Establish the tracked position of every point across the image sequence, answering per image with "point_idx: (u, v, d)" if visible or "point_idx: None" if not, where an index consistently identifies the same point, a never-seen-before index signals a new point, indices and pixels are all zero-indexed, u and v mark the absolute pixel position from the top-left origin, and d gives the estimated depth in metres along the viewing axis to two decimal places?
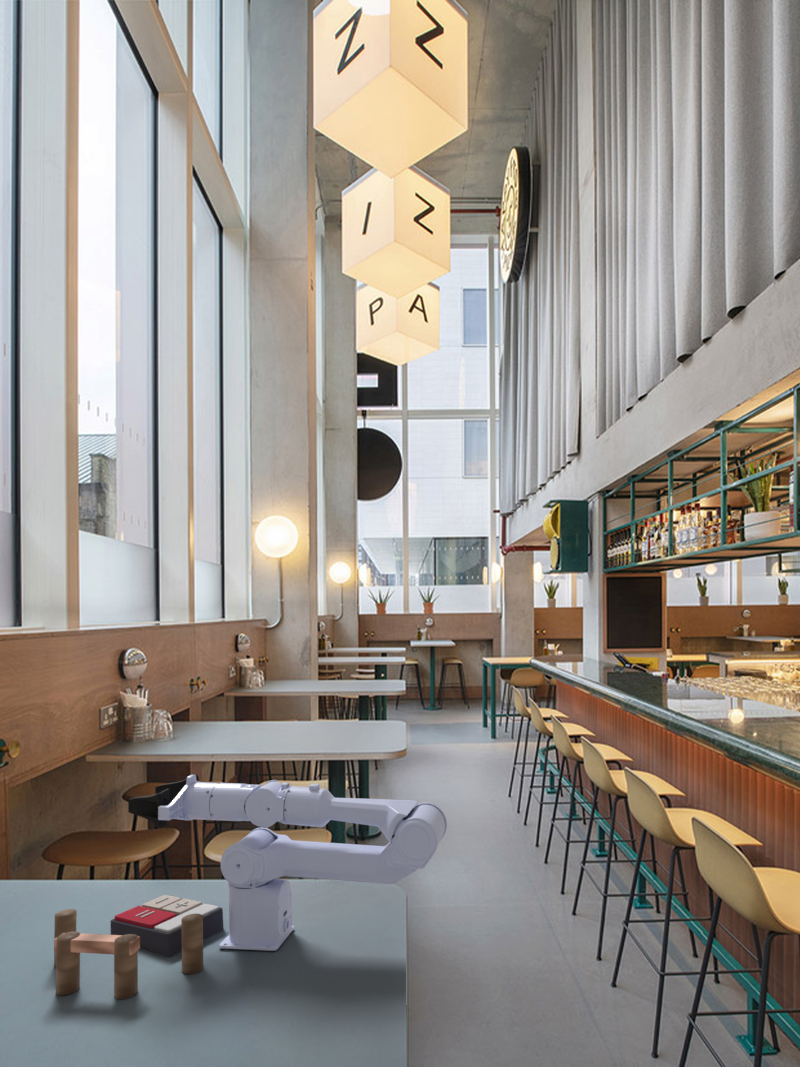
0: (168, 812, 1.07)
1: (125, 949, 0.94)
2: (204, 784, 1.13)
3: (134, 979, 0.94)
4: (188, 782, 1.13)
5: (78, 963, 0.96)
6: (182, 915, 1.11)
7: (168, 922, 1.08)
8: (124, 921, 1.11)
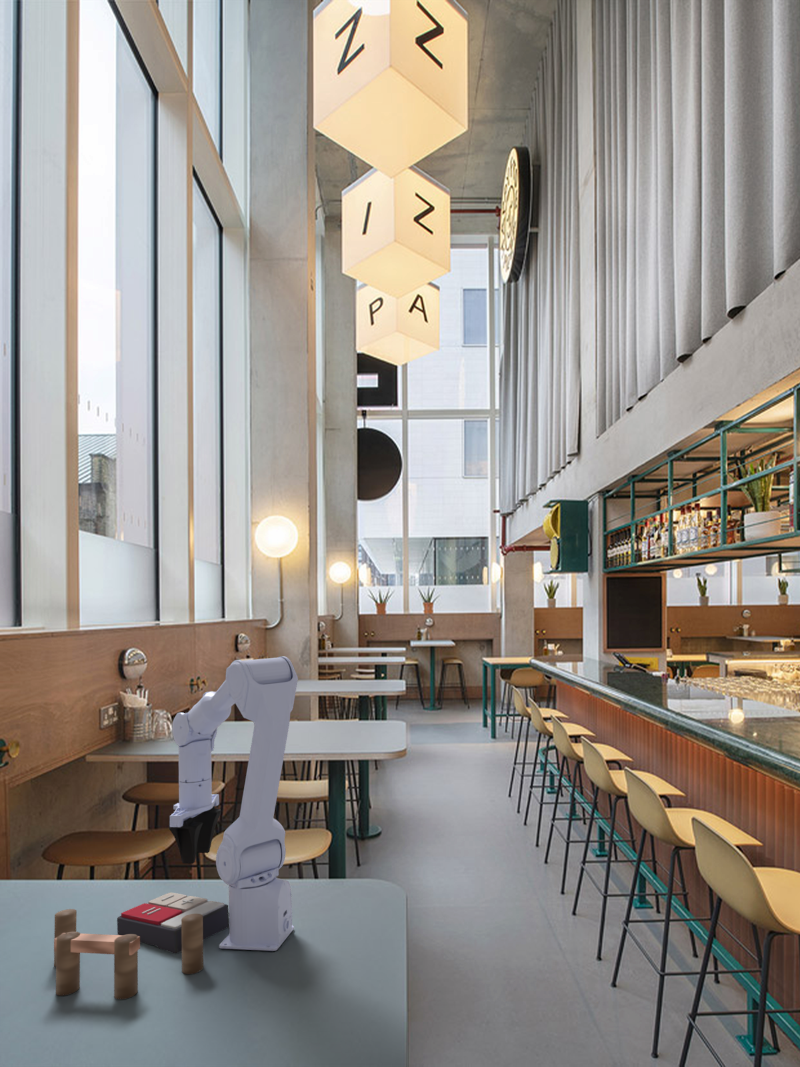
0: (173, 816, 1.18)
1: (125, 949, 0.94)
2: None
3: (134, 979, 0.94)
4: (176, 807, 1.25)
5: (78, 963, 0.96)
6: (188, 912, 1.12)
7: (174, 919, 1.10)
8: (130, 919, 1.12)
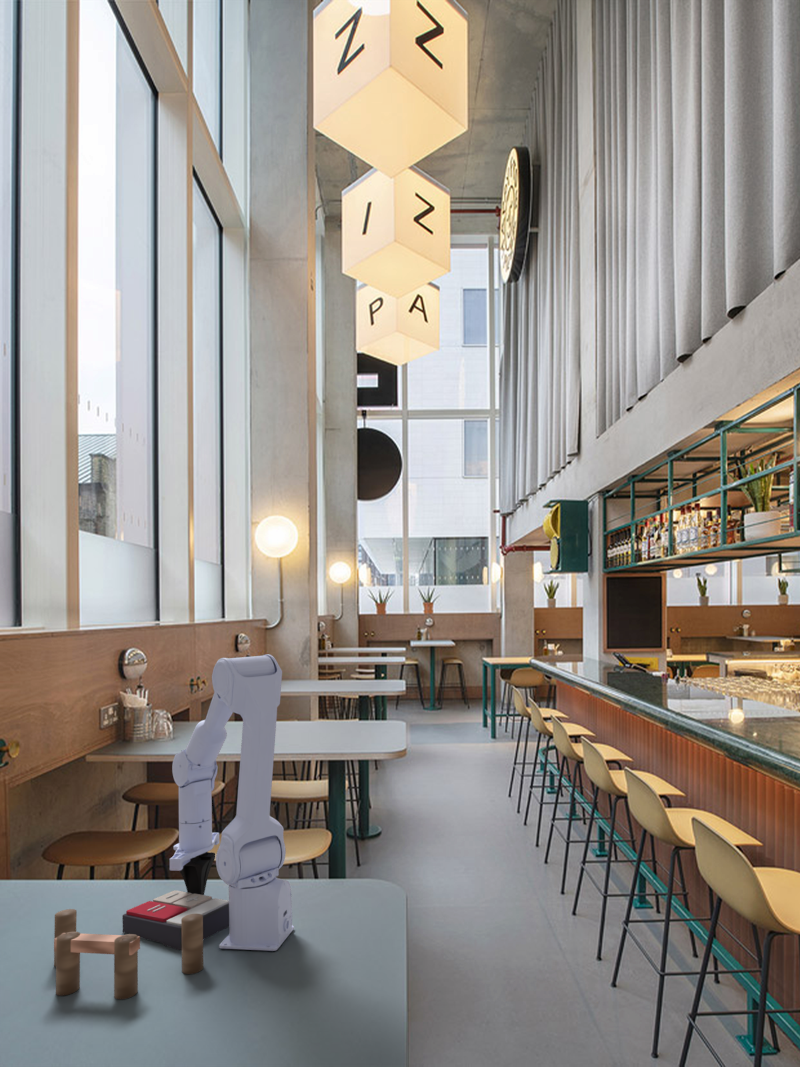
0: (173, 859, 1.17)
1: (125, 949, 0.94)
2: None
3: (134, 979, 0.94)
4: (176, 848, 1.23)
5: (78, 963, 0.96)
6: (193, 909, 1.13)
7: (180, 916, 1.11)
8: (136, 916, 1.13)
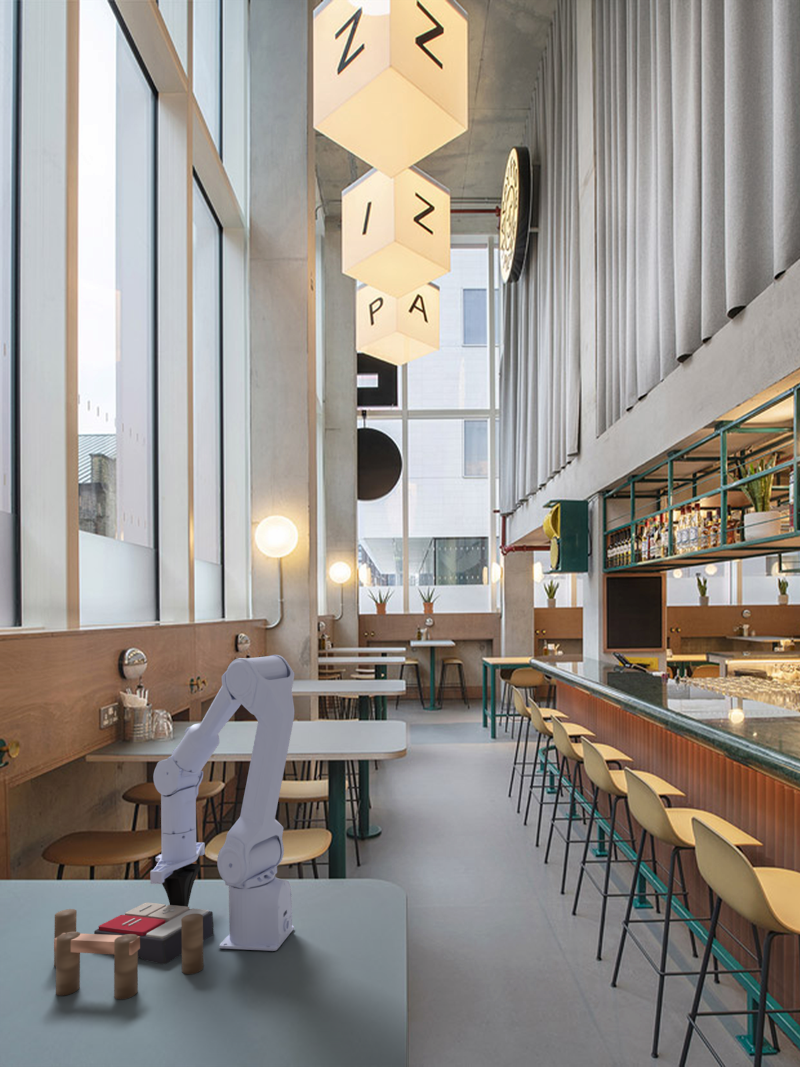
0: (154, 872, 1.11)
1: (125, 949, 0.94)
2: None
3: (134, 979, 0.94)
4: (159, 859, 1.18)
5: (78, 963, 0.96)
6: (172, 921, 1.09)
7: (160, 928, 1.06)
8: (110, 931, 1.08)
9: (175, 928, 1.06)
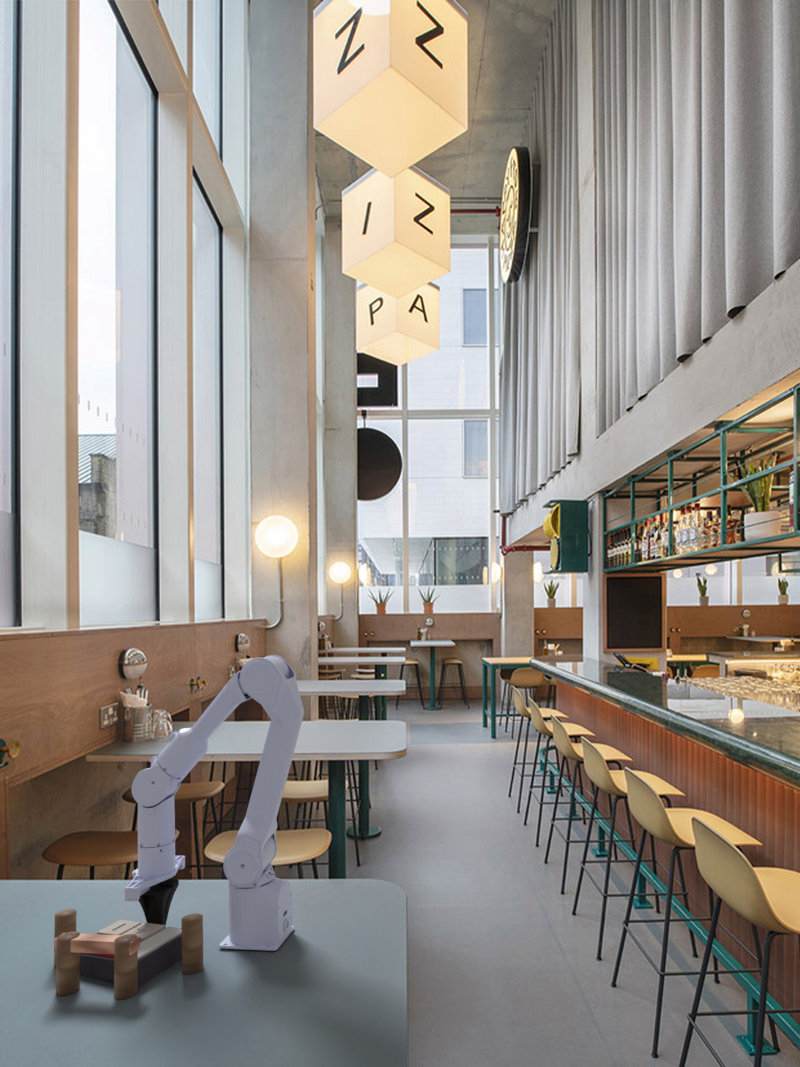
0: (129, 888, 1.04)
1: (125, 949, 0.94)
2: None
3: (134, 979, 0.94)
4: (135, 874, 1.11)
5: (78, 963, 0.96)
6: (147, 941, 1.02)
7: None
8: None
9: (149, 949, 0.99)
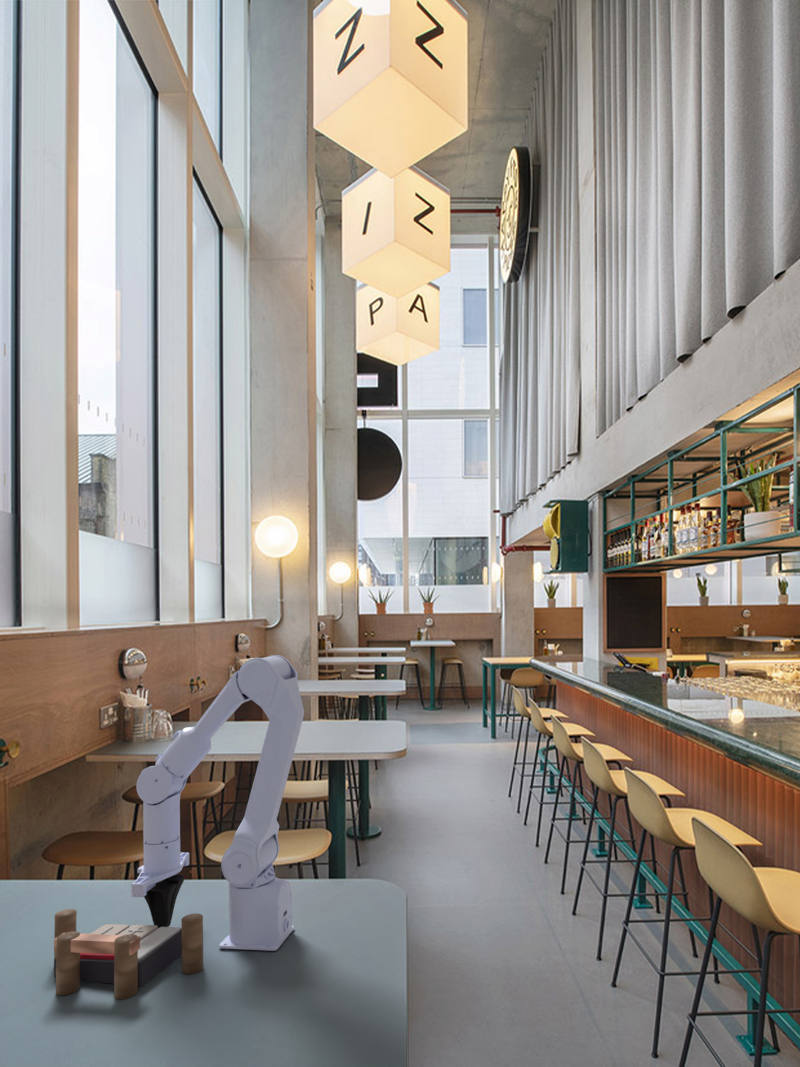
0: (136, 884, 1.06)
1: (125, 949, 0.94)
2: None
3: (134, 979, 0.94)
4: (140, 870, 1.13)
5: (78, 963, 0.96)
6: (143, 941, 1.02)
7: None
8: None
9: (149, 949, 0.99)
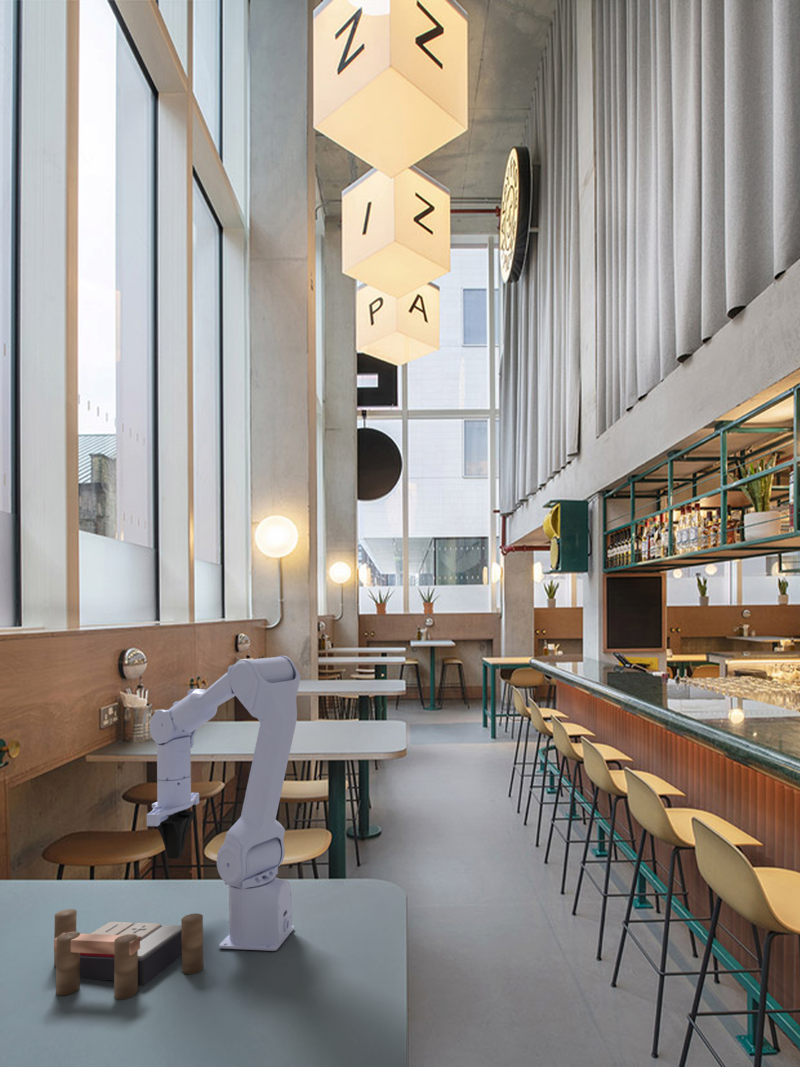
0: (150, 815, 1.16)
1: (125, 949, 0.94)
2: None
3: (134, 979, 0.94)
4: (154, 805, 1.22)
5: (78, 963, 0.96)
6: (147, 939, 1.03)
7: None
8: None
9: (152, 947, 1.00)
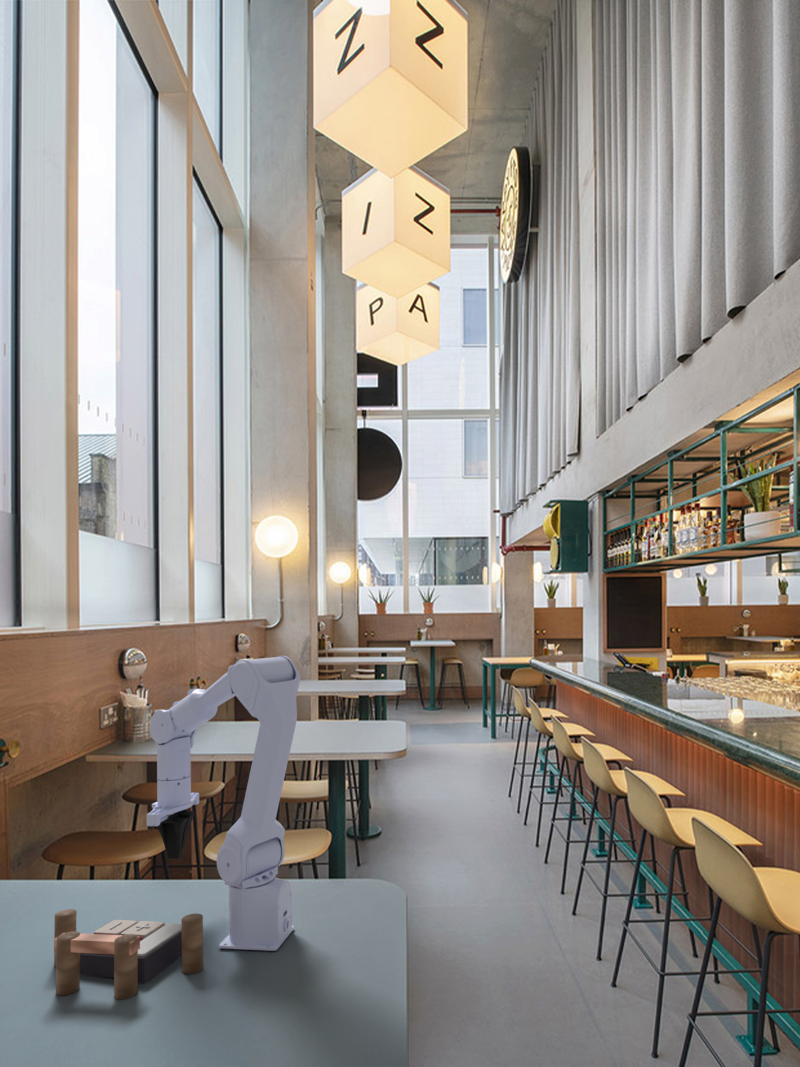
0: (150, 815, 1.16)
1: (125, 949, 0.94)
2: None
3: (134, 979, 0.94)
4: (154, 805, 1.22)
5: (78, 963, 0.96)
6: (149, 937, 1.03)
7: None
8: None
9: (154, 945, 1.00)
